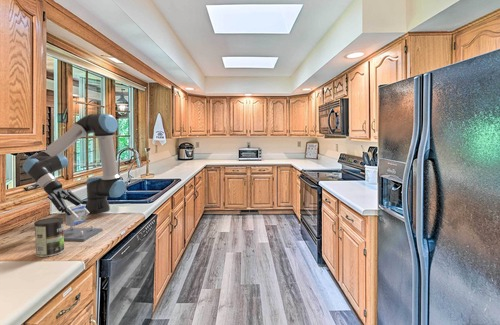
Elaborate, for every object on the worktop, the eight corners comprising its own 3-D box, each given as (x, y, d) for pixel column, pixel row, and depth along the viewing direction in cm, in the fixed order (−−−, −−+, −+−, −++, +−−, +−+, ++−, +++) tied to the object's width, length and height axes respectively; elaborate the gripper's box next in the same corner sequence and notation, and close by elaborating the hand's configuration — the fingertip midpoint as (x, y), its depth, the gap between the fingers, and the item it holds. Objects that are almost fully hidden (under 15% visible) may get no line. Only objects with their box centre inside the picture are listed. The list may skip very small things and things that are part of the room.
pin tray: (70, 229, 156) (69, 223, 156) (102, 230, 155) (102, 223, 155) (48, 240, 140) (47, 232, 140) (84, 241, 139) (83, 233, 139)
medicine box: (73, 226, 143) (72, 208, 142) (65, 225, 144) (65, 208, 143) (85, 221, 151) (85, 205, 150) (78, 221, 151) (77, 204, 151)
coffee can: (67, 247, 132) (66, 216, 131) (60, 255, 122) (58, 223, 121) (41, 249, 129) (39, 218, 128) (31, 258, 119) (29, 224, 118)
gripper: (60, 186, 157) (89, 216, 158) (28, 193, 136) (62, 228, 137) (69, 176, 156) (99, 206, 157) (38, 182, 135) (73, 217, 136)
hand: (82, 216), depth 147 cm, fingers closed on medicine box, 8 cm apart
